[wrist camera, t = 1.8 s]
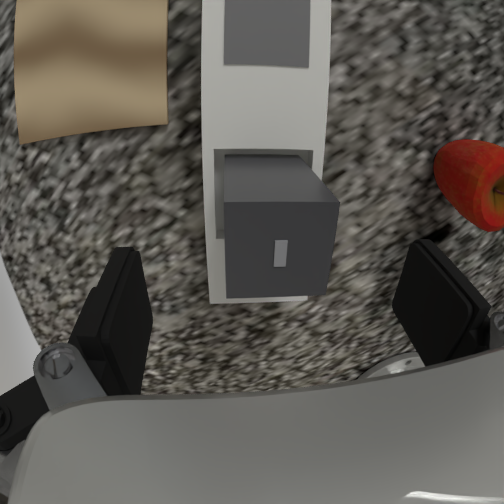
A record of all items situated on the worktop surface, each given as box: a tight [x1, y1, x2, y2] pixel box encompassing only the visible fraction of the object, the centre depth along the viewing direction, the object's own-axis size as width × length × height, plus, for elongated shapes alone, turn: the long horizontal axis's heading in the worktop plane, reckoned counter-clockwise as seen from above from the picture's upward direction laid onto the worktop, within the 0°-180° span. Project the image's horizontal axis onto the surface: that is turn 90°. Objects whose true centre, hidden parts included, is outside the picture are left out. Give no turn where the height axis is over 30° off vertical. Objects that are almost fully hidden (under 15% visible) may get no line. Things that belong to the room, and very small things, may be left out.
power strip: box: [201, 0, 331, 304], centre depth 15 cm, size 38×7×4 cm, turn 179°
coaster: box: [14, 0, 169, 145], centre depth 16 cm, size 12×12×1 cm
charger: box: [224, 154, 340, 299], centre depth 17 cm, size 4×5×8 cm
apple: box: [433, 139, 504, 232], centre depth 19 cm, size 6×6×8 cm
